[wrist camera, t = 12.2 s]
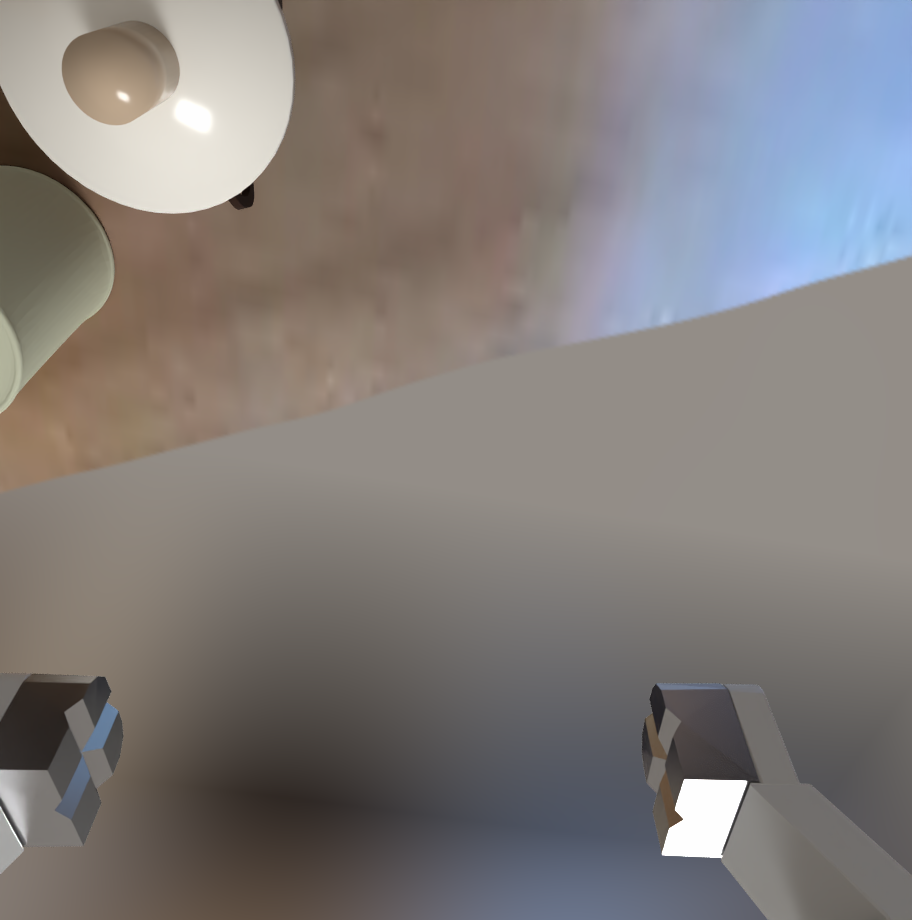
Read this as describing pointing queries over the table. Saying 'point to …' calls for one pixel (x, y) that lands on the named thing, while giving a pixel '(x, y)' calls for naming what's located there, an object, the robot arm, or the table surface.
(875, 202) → the table surface
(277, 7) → the lid
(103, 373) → the table surface
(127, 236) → the table surface
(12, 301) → the can
